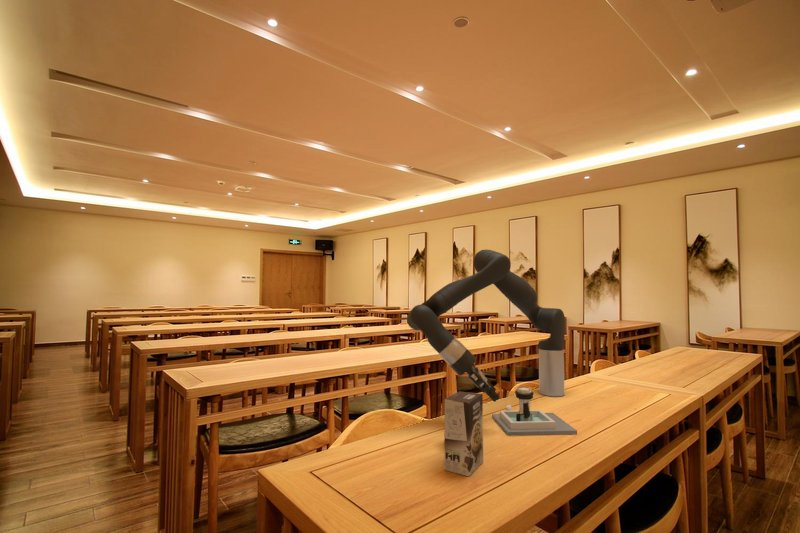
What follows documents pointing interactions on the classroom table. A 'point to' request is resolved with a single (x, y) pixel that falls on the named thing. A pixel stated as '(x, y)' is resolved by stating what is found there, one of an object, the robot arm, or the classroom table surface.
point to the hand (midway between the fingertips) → (495, 395)
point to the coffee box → (463, 432)
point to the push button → (524, 404)
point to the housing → (532, 423)
